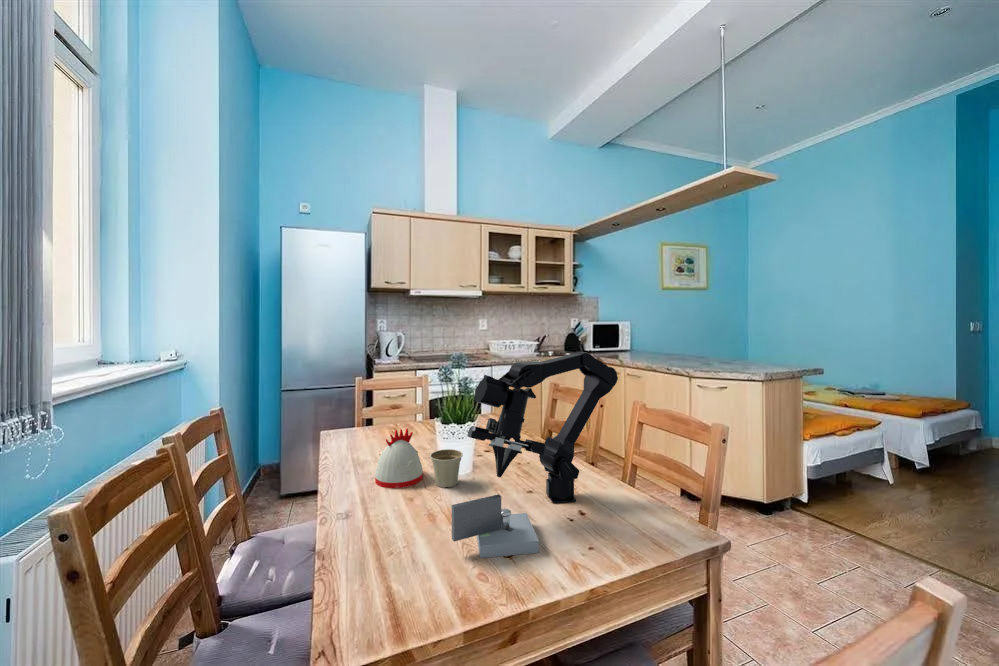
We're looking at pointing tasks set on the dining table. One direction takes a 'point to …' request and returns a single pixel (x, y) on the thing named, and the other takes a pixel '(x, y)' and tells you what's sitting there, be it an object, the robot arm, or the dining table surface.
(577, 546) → the dining table surface
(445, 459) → the flower pot
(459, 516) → the gray pivoting panel
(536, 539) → the gray square base
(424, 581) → the dining table surface
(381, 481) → the grey and red dome
